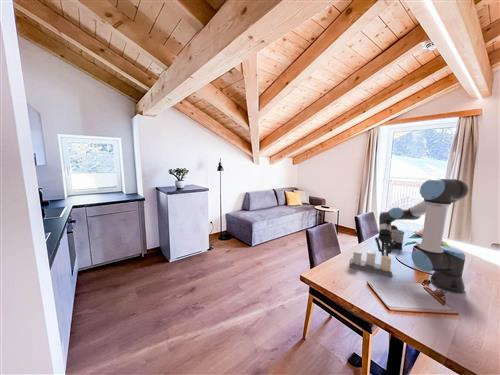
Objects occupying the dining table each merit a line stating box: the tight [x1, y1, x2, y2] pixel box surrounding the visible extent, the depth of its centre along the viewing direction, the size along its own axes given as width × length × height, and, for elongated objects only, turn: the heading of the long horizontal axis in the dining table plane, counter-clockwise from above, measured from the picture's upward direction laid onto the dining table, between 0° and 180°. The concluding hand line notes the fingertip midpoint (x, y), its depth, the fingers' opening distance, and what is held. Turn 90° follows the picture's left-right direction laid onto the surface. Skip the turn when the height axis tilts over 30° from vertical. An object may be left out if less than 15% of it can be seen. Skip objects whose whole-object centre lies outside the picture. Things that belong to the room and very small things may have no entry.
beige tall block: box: [380, 254, 392, 271], centre depth 139 cm, size 4×5×9 cm
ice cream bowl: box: [391, 224, 399, 231], centre depth 197 cm, size 11×11×15 cm
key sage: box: [352, 249, 363, 265], centre depth 147 cm, size 4×5×9 cm
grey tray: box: [349, 257, 394, 278], centre depth 146 cm, size 12×25×3 cm, turn 62°
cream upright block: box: [365, 249, 377, 266], centre depth 147 cm, size 4×5×9 cm
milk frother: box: [384, 229, 405, 251], centre depth 179 cm, size 14×16×15 cm
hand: (384, 261), depth 143 cm, fingers closed
